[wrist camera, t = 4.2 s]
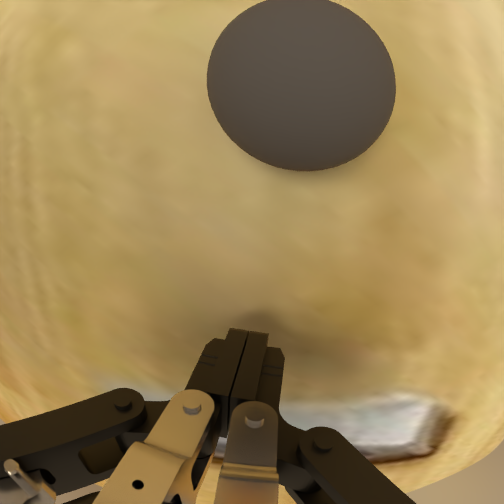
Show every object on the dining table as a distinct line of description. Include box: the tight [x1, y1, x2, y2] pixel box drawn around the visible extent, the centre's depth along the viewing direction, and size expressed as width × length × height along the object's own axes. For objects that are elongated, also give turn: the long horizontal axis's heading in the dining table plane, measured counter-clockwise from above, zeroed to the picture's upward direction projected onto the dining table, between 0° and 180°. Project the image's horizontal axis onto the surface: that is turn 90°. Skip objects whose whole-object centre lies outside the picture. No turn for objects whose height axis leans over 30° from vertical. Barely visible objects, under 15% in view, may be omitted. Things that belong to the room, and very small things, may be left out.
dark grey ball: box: [207, 0, 396, 171], centre depth 8 cm, size 6×6×6 cm
